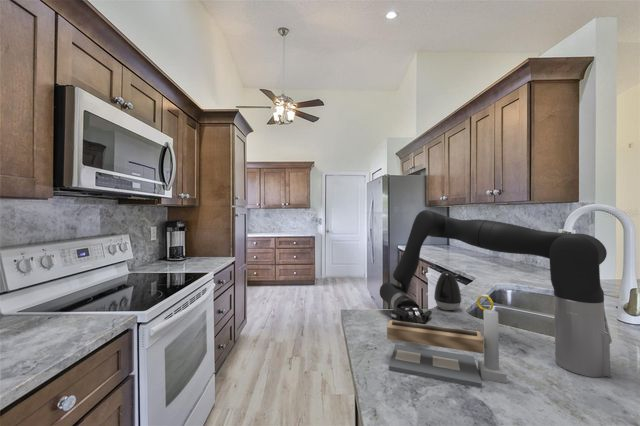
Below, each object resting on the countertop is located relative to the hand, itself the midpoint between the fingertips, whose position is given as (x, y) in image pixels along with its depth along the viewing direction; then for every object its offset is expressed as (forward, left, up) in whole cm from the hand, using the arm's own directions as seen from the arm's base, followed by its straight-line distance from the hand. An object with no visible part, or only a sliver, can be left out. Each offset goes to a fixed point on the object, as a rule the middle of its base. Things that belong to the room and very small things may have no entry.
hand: (420, 325), depth 78 cm
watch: (-23, -48, -8) cm, 54 cm away
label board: (-6, +6, -7) cm, 11 cm away
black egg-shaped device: (-9, -44, -8) cm, 46 cm away
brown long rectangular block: (-3, +6, -1) cm, 7 cm away
